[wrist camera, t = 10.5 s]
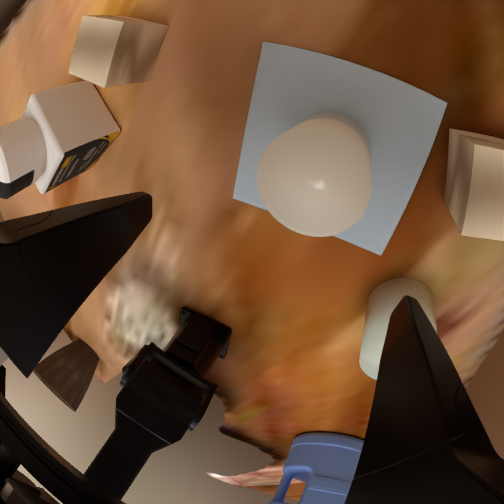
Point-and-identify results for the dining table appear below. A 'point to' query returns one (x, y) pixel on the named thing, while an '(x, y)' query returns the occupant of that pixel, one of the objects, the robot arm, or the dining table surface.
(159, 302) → the dining table surface
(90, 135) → the medicine bottle
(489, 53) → the dining table surface
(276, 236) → the dining table surface
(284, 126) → the felt mat
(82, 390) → the plant pot
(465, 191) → the beech block
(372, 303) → the pale curved piece
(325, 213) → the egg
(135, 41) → the beech block
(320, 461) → the water jug
